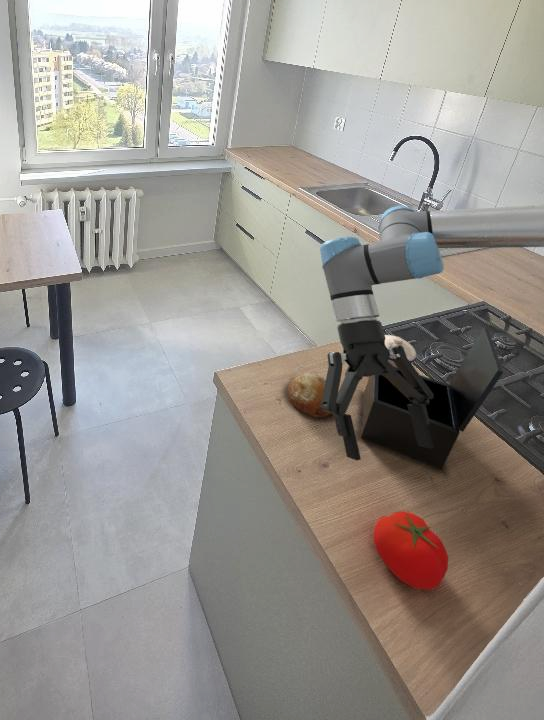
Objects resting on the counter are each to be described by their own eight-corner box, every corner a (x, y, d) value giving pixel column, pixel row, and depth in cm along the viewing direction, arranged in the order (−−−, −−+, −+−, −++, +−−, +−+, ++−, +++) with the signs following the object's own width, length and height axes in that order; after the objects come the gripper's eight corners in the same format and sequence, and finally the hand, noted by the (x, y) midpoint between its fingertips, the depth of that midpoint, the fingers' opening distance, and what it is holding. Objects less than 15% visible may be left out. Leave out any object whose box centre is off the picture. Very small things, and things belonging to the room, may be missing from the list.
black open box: (360, 439, 87) (373, 401, 83) (362, 396, 98) (375, 360, 93) (440, 472, 82) (459, 432, 77) (434, 422, 92) (451, 385, 87)
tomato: (447, 609, 62) (466, 578, 59) (373, 585, 65) (387, 554, 61) (428, 541, 70) (444, 511, 67) (363, 522, 73) (375, 491, 69)
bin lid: (498, 370, 70) (503, 372, 70) (483, 326, 81) (488, 328, 80) (458, 430, 77) (463, 432, 77) (449, 382, 87) (453, 384, 87)
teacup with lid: (408, 395, 99) (422, 357, 94) (366, 381, 102) (378, 344, 97) (403, 361, 109) (416, 325, 104) (365, 350, 112) (376, 315, 107)
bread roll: (309, 392, 103) (302, 362, 102) (347, 406, 94) (340, 372, 94) (283, 412, 97) (276, 379, 97) (321, 428, 89) (314, 392, 88)
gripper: (403, 318, 82) (437, 439, 75) (286, 329, 78) (310, 458, 70) (432, 313, 75) (473, 446, 68) (305, 325, 71) (334, 468, 63)
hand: (390, 452), depth 69 cm, fingers open, 13 cm apart
